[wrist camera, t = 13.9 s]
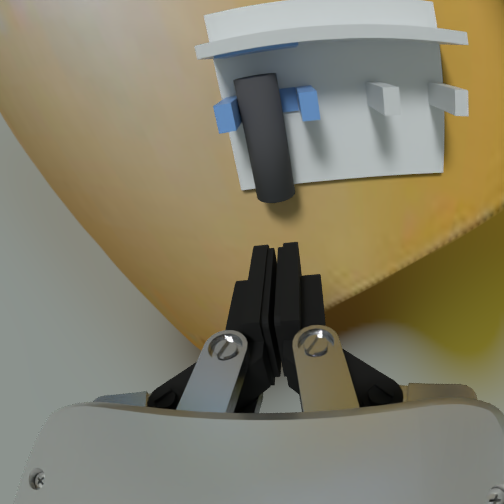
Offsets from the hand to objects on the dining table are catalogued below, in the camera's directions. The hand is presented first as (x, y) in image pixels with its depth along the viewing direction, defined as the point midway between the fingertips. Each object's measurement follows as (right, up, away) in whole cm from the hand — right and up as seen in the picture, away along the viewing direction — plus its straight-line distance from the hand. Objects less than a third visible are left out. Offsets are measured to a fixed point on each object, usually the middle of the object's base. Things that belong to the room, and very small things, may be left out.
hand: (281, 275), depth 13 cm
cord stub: (+1, +11, +13) cm, 16 cm away
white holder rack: (+6, +15, +10) cm, 19 cm away
